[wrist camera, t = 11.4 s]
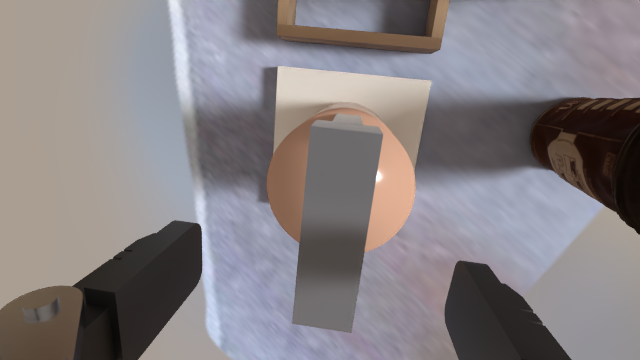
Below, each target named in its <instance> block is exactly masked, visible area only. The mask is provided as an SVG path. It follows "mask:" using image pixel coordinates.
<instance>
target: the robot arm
mask: <svg viewBox="0 0 640 360" xmlns="http://www.w3.org/2000/svg"><path fill="white" fill-rule="evenodd" d="M201 273H202V231H201V226H200V225H199V224H198V223H191V222H184V221H176V220H175V221H172V222H171V223H170V224H168V225H167V226H165V227H164V228H163V229H162V230H160V231H159V232H157V233H154V234H151V235H149V236H146V237H144V238H141V239H139V240H137V241H135V242H134V243H133V244H131V245H130V246H128V247H127V248H125V249H124V251H121V252H120V253H119V254H117V255H116V256H114V257H113V259H110V260H109V261H107V262H106V263H104V264H103V265H101V266H100V267H99V268H97V269H96V270H94V271H93V272H92V273H90V274H89V275H87V276H86V277H85V278H83V279H82V280H80V281H79V282H78V283H76V284H75V285H73V286H52V287H47V288H42V289H38V290H35V291H32V292H29V293H27V294H24V295H22V296H20V297H18V298H16V299H14V300H13V301H11V302H10V303H8V304H7V305H6V306H4V307H3V308H2V309H1V310H0V360H138V359H139V358H140V356H141V355H142V354H143V353H144V351H145V350H146V349H147V348H148V346H149V345H150V344H151V343H152V341H153V340H154V339H155V338H156V336H157V335H158V334H159V332H160V331H161V330H162V329H163V327H164V326H165V325H166V324H167V322H168V321H169V320H170V319H171V317H172V316H173V315H174V313H175V312H176V311H177V310H178V309H179V307H180V306H181V305H182V304H183V302H184V301H185V300H186V298H187V297H188V296H189V295H190V293H191V292H192V291H193V290H194V288H195V287H196V286H197V284H198V282H199V280H200V277H201ZM445 323H446V326H447V329H448V332H449V335H450V337H451V340H452V343H453V345H454V348H455V351H456V353H457V356H458V359H459V360H571V359H570V357H569V356H568V355H567V353H566V352H565V351H564V350H563V348H562V347H561V346H560V345H559V343H558V342H557V341H556V339H555V338H554V337H553V336H552V334H551V333H550V332H549V330H548V329H547V328H546V327H545V326H543V325H542V321H541V320H540V319H539V318H538V316H537V315H536V314H534V313H533V310H532V309H531V307H530V306H529V305H528V304H527V302H526V301H525V300H524V298H523V297H522V296H521V295H519V294H518V293H517V292H515V291H514V290H513V289H511V288H510V287H509V286H507V285H506V284H502V283H501V282H500V281H499V280H498V278H497V277H496V276H495V274H494V273H493V271H492V270H491V269H490V267H489V266H488V265H487V264H481V263H474V262H467V261H458V262H457V264H456V266H455V269H454V273H453V277H452V281H451V285H450V288H449V292H448V296H447V300H446V304H445Z"/></svg>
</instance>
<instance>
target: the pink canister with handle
mask: <svg viewBox="0 0 640 360" xmlns="http://www.w3.org/2000/svg"><path fill="white" fill-rule="evenodd" d="M267 194H268V199H269V203H270V206H271V209H272V211H273V214H274V216H275V217H276V219H277V221H278V222H279V224H280V225H281V226H282V228H283V229H284V230H285V231H286V232H287V233H288V234H289V235H290V236H291V237H292V238H293V239H295V240H296V241H297V242H299V243H300V244H299V255H298V266H297V277H296V288H295V299H294V310H293V321H292V324H298V325H304V326H311V327H317V328H323V329H330V330H336V331H342V332H349V333H351V332H352V325H353V319H354V313H355V307H356V301H357V294H358V288H359V282H360V276H361V270H362V264H363V257H364V252H367V251H370V250H372V249H375V248H377V247H379V246H380V245H382V244H384V243H385V242H387V241H388V240H389V239H391V238H392V237H393V236H394V235H395V234H396V233H397V232H398V231H399V229H400V228H401V227H402V226H403V224H404V223H405V221H406V219H407V218H408V216H409V214H410V211H411V209H412V206H413V202H414V197H415V175H414V170H413V166H412V163H411V160H410V158H409V156H408V154H407V152H406V150H405V149H404V147H403V146H402V144H401V143H400V142H399V141H398V139H397V138H396V137H395V136H394V135H393V133H392V132H391V131H390V130H389V129H388V127H387V126H386V125H385V124H384V122H383V121H382V120H381V119H380V118H379V117H378V115H376V114H375V113H374V112H373V111H372V110H370V109H369V108H367V107H365V106H363V105H360V104H357V103H351V102H341V103H335V104H332V105H329V106H326V107H325V108H323V109H321V110H320V111H318V112H317V113H316V114H314V115H313V116H312V117H310V118H309V119H308V120H306V121H305V122H304V123H302V124H301V125H299V126H298V127H297V128H295V129H294V130H293V131H291V132H290V133H289V134H288V135H287V136H286V137H285V138H284V139H283V141H282V142H281V143H280V144H279V146H278V147H277V149H276V151H275V153H274V154H273V157H272V159H271V162H270V165H269V169H268V174H267Z"/></svg>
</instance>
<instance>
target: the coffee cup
mask: <svg viewBox="0 0 640 360" xmlns="http://www.w3.org/2000/svg"><path fill="white" fill-rule="evenodd" d="M530 148H531V151H532V153H533V155H534V156H535V158H536V159H537V160H538V162H539V163H540V164H541V165H543V166H545V167H546V168H548V169H550V170H552V171H554V172H555V173H557V174H558V175H559V176H560V177H561V178H562V179H564V180H565V181H566V182H568V183H570V184H571V185H573V186H574V187H576V188H578V189H579V190H581V191H583V192H584V193H586V194H587V195H588V196H590V197H592V198H594V199H595V200H597V201H599V202H600V203H602V204H603V205H605V206H606V207H608V208H609V209H611V210H613V211H615V212H617V214H618V215H619V216H620V218H621V219H622V220H623V221H625V223H626V224H627V225H628V226H630V227H632V228H634V229H635V230H636V232H637V233H638V234H640V98H624V99H613V98H597V99H592V98H586V97H581V98H574V99H570V100H566V101H563V102H561V103H559V104H557V105H555V106H553V107H551V108H549V109H548V110H547V111H545V112H544V113H543V114H542V115H541V116H540V117H539V118H538V120H537V121H536V122H535V123H534V125H533V128H532V132H531V137H530Z"/></svg>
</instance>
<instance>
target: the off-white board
mask: <svg viewBox="0 0 640 360" xmlns="http://www.w3.org/2000/svg"><path fill="white" fill-rule="evenodd" d="M430 86H431V81H429V80H418V79H408V78H397V77H387V76H377V75H366V74H356V73H346V72H335V71H325V70H315V69H304V68H294V67H283V66H278V73H277V92H276V111H275V130H274V149H273V154H274V153H275V151H276V149H277V147H278V146H279V144H280V143H281V142H282V141H283V139H284V138H285V137H286V136H287V135H288V134H289V133H290V132H291V131H293V130H294V129H295V128H297V127H298V126H299V125H301V124H302V123H304V122H305V121H306V120H308V119H309V118H310V117H312V116H313V115H314V114H316V113H317V112H318V111H320V110H321V109H323V108H325V107H326V106H329V105H332V104H335V103H341V102H351V103H357V104H360V105H363V106H365V107H367V108H369V109H370V110H372V111H373V112H374V113H375V114H376V115H378V117H379V118H380V119H381V120H382V121H383V122H384V124H385V125H386V126H387V127H388V129H389V130H390V131H391V132H392V133H393V135H394V136H395V137H396V138H397V139H398V141H399V142H400V143H401V144H402V146H403V147H404V149H405V150H406V152H407V154H408V156H409V158H410V160H411V163H412V166H413V170H415V165H416V160H417V155H418V149H419V144H420V139H421V134H422V128H423V123H424V118H425V113H426V107H427V102H428V97H429V92H430Z"/></svg>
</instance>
